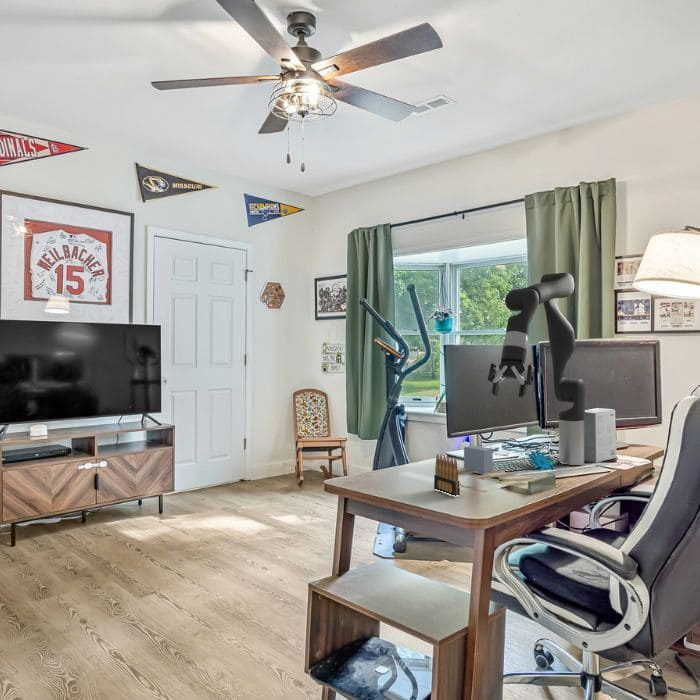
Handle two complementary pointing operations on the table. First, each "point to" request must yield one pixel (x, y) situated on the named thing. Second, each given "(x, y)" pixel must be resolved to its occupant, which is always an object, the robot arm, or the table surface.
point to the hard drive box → (599, 435)
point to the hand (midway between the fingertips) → (507, 396)
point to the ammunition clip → (446, 476)
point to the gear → (541, 461)
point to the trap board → (518, 481)
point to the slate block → (478, 459)
